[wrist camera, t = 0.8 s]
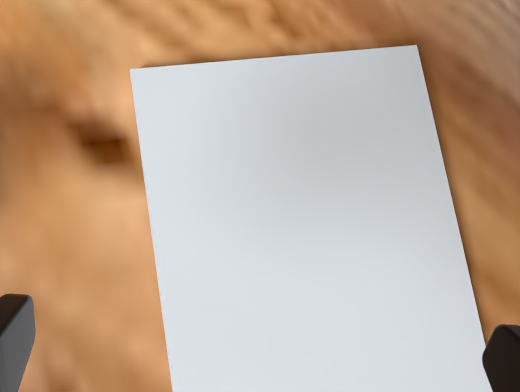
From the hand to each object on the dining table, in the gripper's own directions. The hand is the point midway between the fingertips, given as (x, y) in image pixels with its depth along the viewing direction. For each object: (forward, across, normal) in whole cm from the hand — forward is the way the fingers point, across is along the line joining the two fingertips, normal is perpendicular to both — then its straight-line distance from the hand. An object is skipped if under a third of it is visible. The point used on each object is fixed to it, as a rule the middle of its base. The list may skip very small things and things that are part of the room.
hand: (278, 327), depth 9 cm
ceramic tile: (+14, -4, +6) cm, 16 cm away
